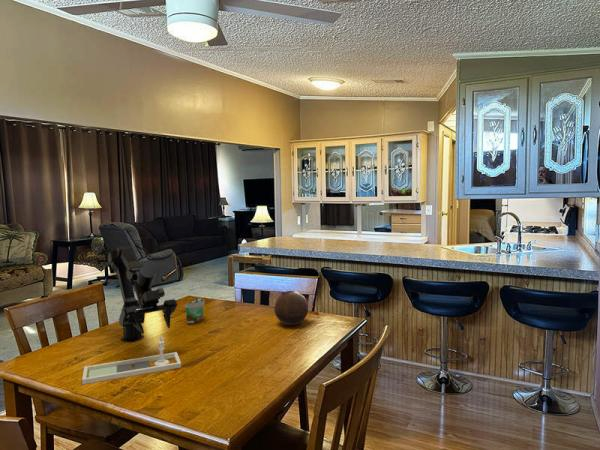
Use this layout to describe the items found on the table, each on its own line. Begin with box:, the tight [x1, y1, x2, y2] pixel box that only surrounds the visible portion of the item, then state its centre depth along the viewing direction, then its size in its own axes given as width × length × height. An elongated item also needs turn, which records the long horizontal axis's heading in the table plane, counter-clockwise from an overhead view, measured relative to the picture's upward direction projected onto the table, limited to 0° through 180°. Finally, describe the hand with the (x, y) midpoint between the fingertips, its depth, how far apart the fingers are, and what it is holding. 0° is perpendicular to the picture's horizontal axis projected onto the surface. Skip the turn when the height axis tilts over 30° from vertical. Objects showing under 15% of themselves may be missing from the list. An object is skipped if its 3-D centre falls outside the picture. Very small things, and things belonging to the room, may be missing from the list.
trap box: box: [81, 351, 182, 385], centre depth 143 cm, size 30×11×2 cm, turn 114°
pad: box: [88, 366, 117, 378], centre depth 140 cm, size 8×9×1 cm
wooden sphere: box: [273, 290, 309, 326], centre depth 189 cm, size 15×15×15 cm
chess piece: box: [153, 335, 170, 367], centre depth 147 cm, size 5×5×10 cm
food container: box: [184, 296, 206, 326], centre depth 194 cm, size 12×6×10 cm, turn 168°
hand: (156, 330), depth 150 cm, fingers open, 9 cm apart
